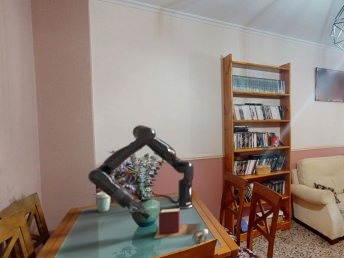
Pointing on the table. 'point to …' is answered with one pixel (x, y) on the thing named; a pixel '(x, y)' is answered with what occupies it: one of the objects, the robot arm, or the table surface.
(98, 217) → the table surface
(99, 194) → the coffee cup
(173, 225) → the book
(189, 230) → the mat
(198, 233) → the eagle figurine
